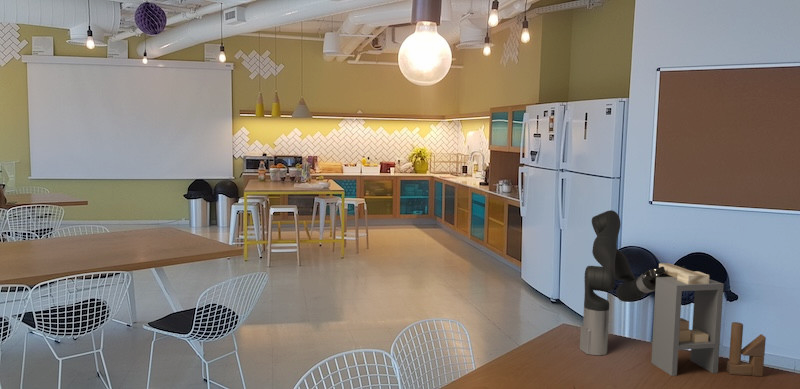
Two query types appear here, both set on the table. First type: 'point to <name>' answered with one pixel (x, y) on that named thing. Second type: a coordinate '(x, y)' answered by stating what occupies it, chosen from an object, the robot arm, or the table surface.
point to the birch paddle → (685, 274)
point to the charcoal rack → (686, 324)
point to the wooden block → (745, 353)
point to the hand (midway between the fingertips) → (674, 268)
